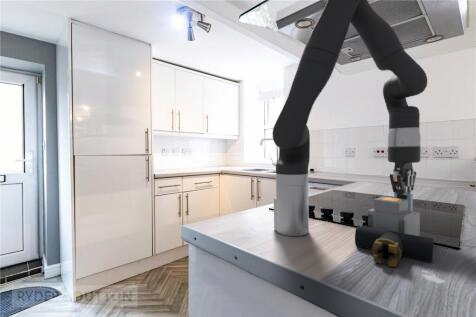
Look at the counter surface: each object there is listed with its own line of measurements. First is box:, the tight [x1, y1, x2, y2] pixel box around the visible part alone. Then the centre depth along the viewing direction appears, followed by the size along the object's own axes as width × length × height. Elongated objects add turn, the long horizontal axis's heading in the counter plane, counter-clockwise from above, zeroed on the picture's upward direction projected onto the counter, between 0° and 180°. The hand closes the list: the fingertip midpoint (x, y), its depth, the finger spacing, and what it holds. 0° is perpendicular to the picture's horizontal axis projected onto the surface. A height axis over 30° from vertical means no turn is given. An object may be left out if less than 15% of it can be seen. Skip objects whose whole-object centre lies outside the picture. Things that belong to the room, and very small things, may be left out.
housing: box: [367, 195, 421, 236], centre depth 66 cm, size 8×12×11 cm
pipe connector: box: [354, 225, 434, 268], centre depth 56 cm, size 12×5×15 cm
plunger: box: [380, 196, 401, 202], centre depth 64 cm, size 4×4×3 cm
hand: (403, 207), depth 70 cm, fingers closed
